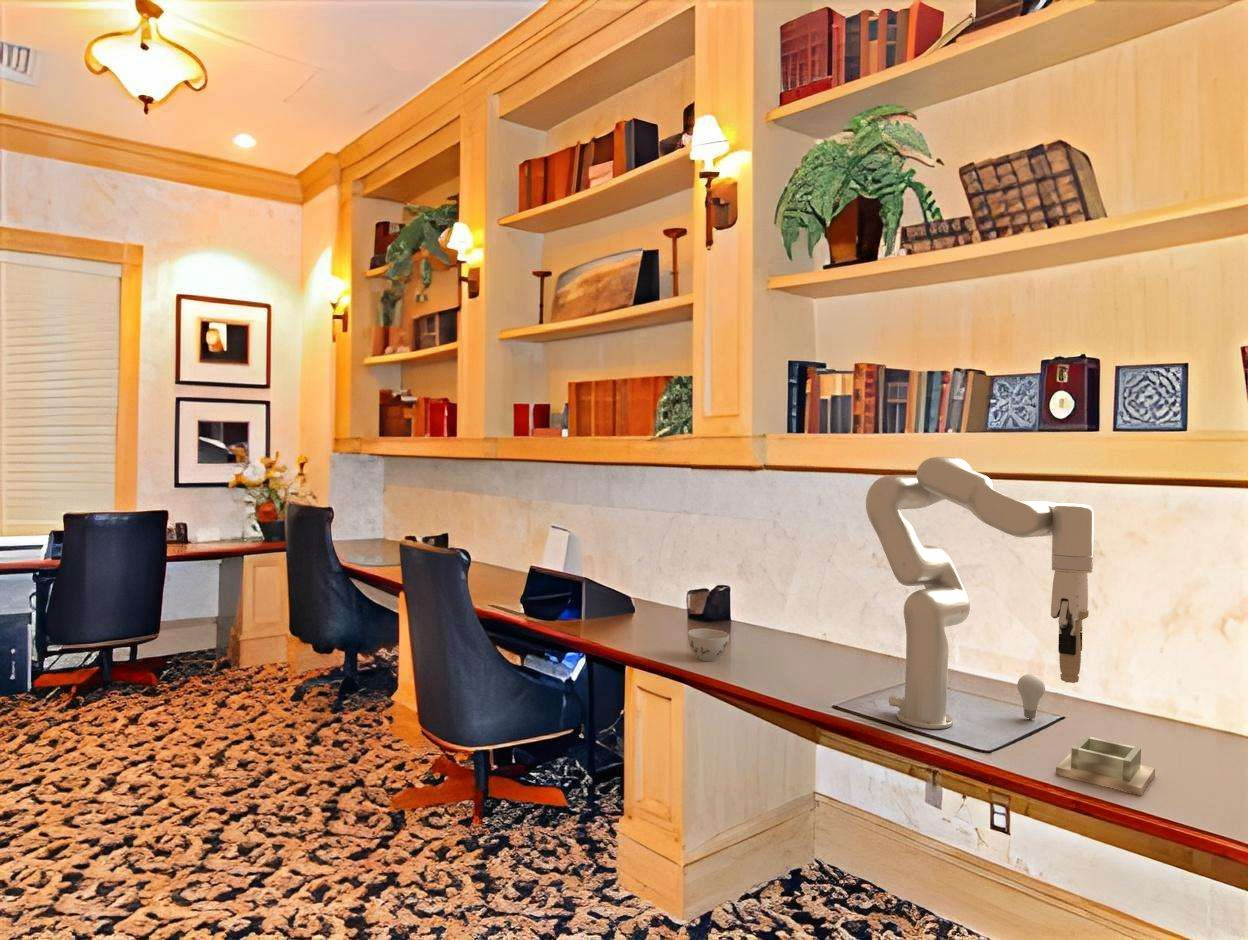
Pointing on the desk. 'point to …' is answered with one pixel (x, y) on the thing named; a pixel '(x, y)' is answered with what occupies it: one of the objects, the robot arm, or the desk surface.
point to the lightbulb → (1030, 693)
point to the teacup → (708, 643)
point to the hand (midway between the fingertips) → (1070, 651)
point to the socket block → (1107, 765)
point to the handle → (1072, 662)
